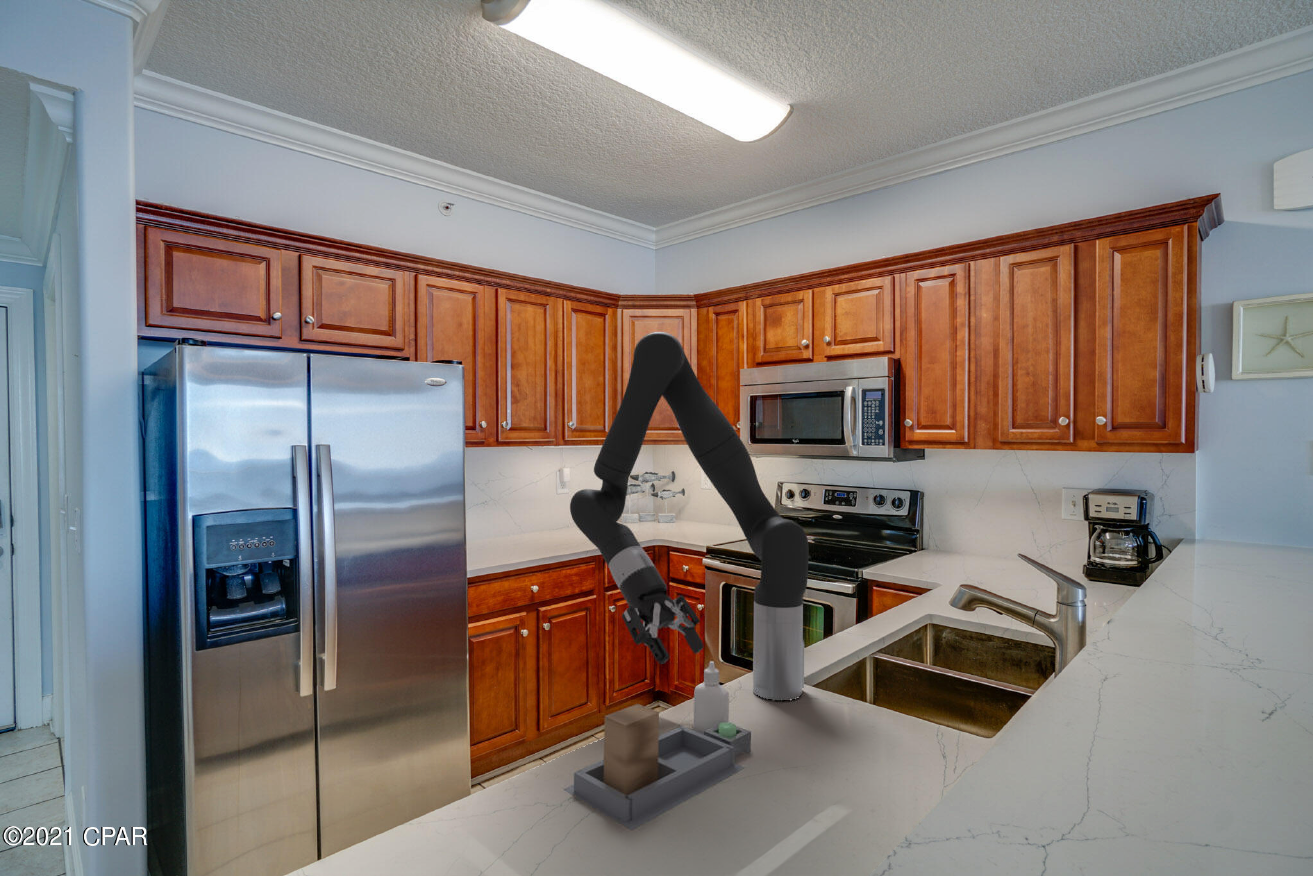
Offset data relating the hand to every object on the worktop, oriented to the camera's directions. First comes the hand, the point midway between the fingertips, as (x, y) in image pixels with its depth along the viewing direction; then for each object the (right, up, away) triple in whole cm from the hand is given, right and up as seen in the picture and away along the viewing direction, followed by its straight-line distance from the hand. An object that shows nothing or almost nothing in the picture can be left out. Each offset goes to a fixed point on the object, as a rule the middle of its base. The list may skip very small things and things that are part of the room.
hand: (683, 655), depth 112 cm
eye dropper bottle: (+4, -12, -5) cm, 13 cm away
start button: (+6, -9, -12) cm, 16 cm away
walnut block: (-8, -10, -25) cm, 28 cm away
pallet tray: (-4, -11, -21) cm, 24 cm away
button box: (+6, -11, -12) cm, 18 cm away
